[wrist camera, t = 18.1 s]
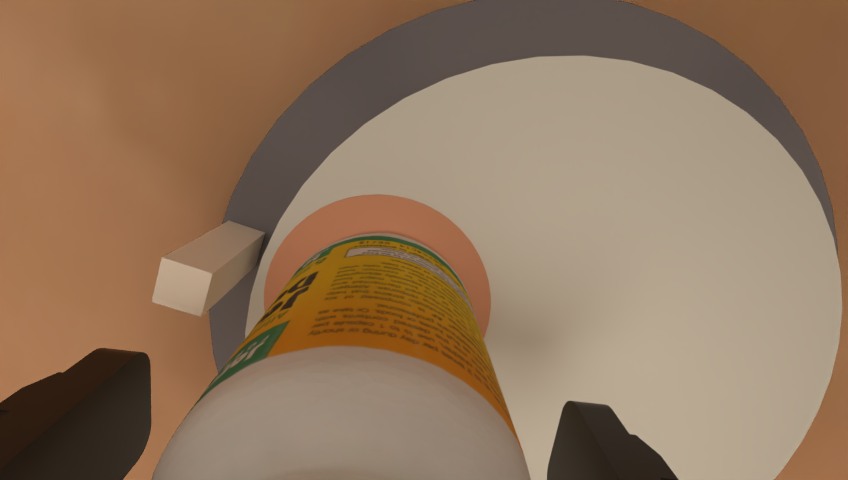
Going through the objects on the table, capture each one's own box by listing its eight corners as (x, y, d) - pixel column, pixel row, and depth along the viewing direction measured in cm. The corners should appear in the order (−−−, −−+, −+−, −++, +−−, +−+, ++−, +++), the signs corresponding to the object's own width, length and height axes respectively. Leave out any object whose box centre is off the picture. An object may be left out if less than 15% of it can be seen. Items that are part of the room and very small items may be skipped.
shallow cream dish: (863, 389, 16) (1052, 502, 12) (459, 613, 19) (476, 785, 14) (634, -73, 12) (778, -198, 7) (151, 286, 15) (22, 370, 10)
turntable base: (833, -59, 14) (1063, -156, 9) (797, 509, 19) (925, 638, 15) (135, 69, 14) (-10, 42, 9) (302, 589, 20) (268, 741, 15)
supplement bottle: (429, 423, 14) (468, 1067, 4) (259, 366, 13) (-117, 989, 4) (503, 268, 12) (778, 717, 3) (319, 196, 12) (-25, 497, 2)
